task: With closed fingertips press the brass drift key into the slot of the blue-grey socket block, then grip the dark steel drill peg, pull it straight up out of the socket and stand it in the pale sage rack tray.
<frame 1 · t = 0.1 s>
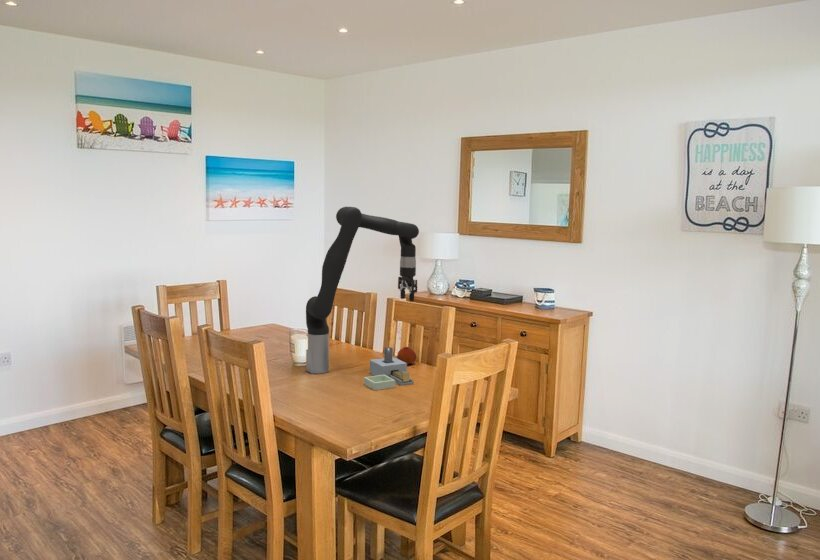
hand: (407, 300, 306), 29 cm above the table, fingers open, 8 cm apart
fruit: (406, 364, 303), on the table
socket block: (388, 374, 283), on the table
drill peg: (388, 361, 283), in the socket block
rack tray: (379, 385, 267), on the table
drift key: (401, 374, 273), point 3 cm above the table, slide at 0.0 cm
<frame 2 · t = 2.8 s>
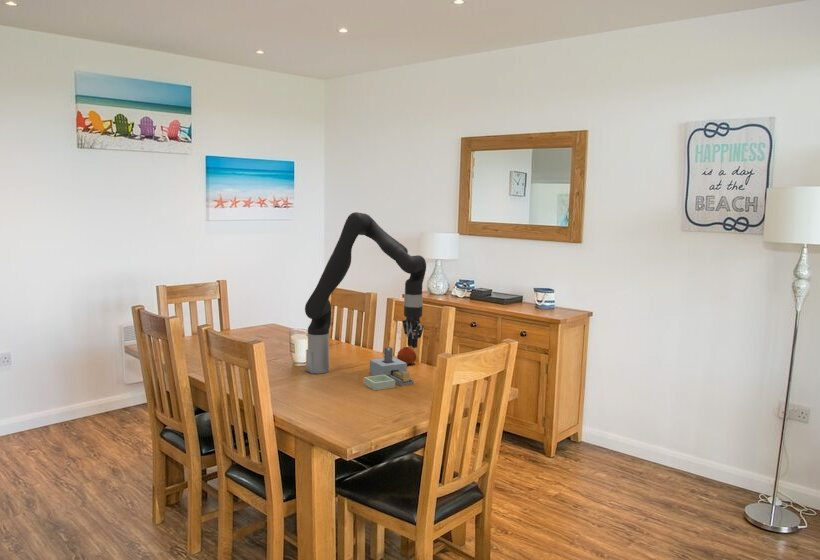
hand: (412, 346, 264), 17 cm above the table, fingers open, 3 cm apart
nothing on the table moved.
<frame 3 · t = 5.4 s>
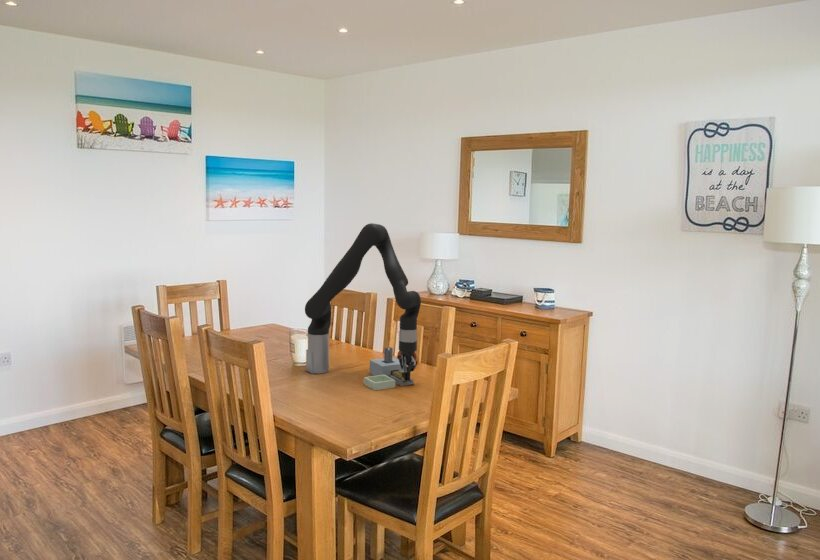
hand: (407, 380, 268), 2 cm above the table, fingers closed
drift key: (399, 373, 274), point 3 cm above the table, slide at 1.2 cm, touching gripper
everything else where it was.
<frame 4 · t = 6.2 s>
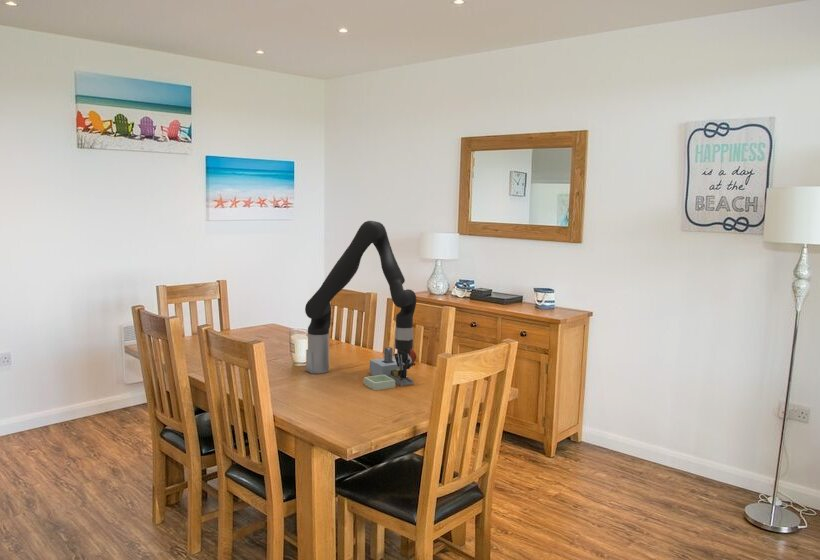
hand: (403, 378, 271), 2 cm above the table, fingers closed
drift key: (395, 371, 277), point 3 cm above the table, slide at 4.4 cm, touching gripper
everything else where it was.
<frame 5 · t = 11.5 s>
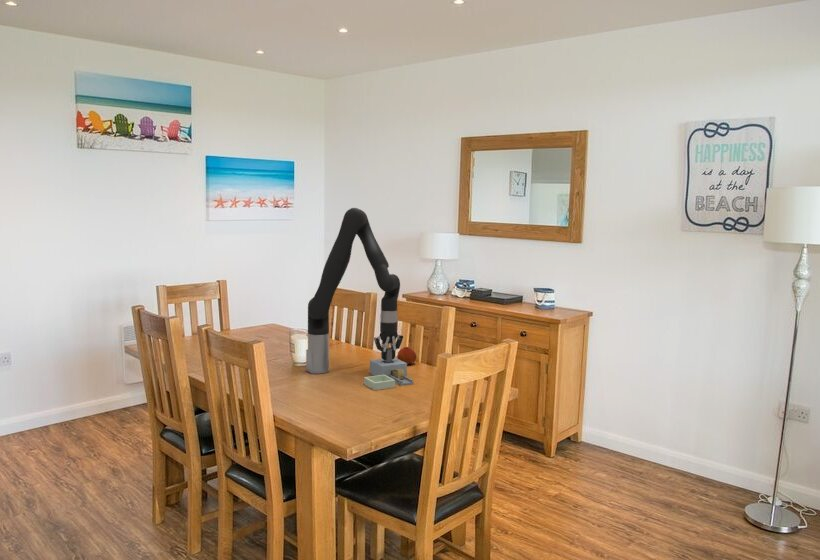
hand: (388, 358, 282), 7 cm above the table, fingers closed on drill peg, 3 cm apart
drill peg: (388, 361, 283), in the socket block, touching gripper
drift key: (395, 371, 277), point 3 cm above the table, slide at 4.4 cm
everything else where it was.
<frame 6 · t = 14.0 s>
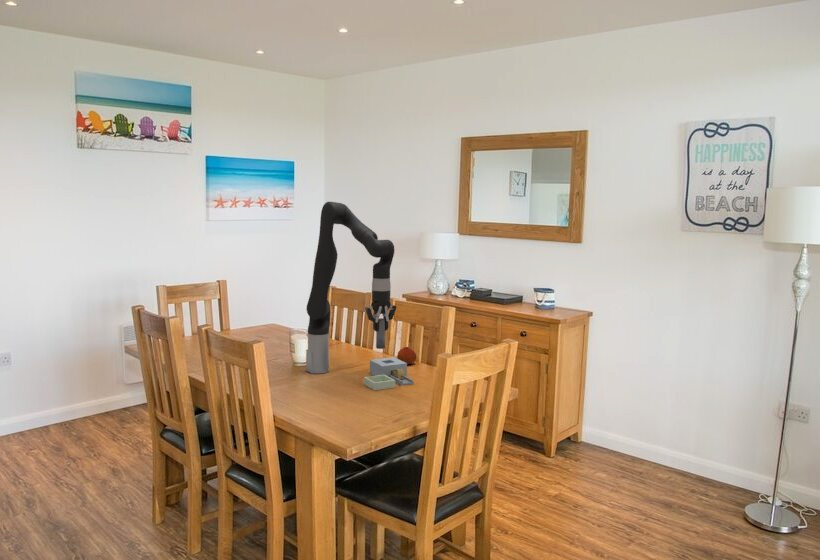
hand: (380, 330, 264), 23 cm above the table, fingers closed on drill peg, 3 cm apart
drill peg: (380, 333, 264), point 22 cm above the table, touching gripper
everything else where it was.
when the fingers open (9 cm above the table, at t = 17.0 s): drill peg drops 1 cm, resting on rack tray.
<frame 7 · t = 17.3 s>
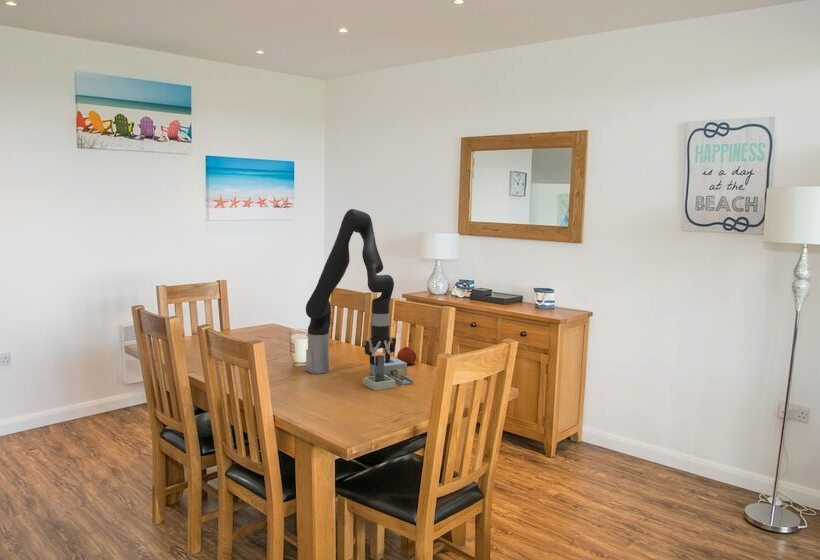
hand: (379, 363, 266), 9 cm above the table, fingers open, 6 cm apart
drill peg: (379, 370, 266), in the rack tray, point 7 cm above the table
everything else where it was.
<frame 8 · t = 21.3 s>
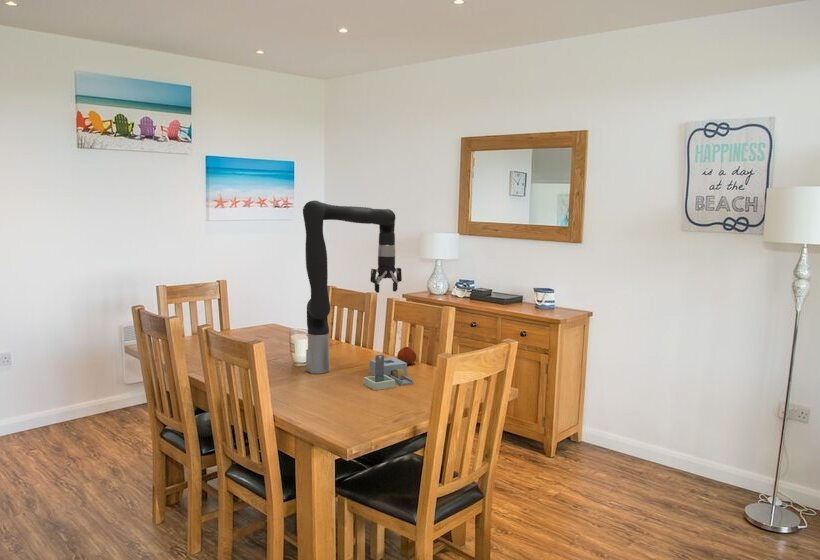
hand: (386, 291, 284), 36 cm above the table, fingers open, 8 cm apart
nothing on the table moved.
at the end: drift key slide at 4.4 cm; drill peg inside the target area on the rack tray (0.1 cm from its centre), point 6.6 cm above the rack tray's base; drill peg tilted 1° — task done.
